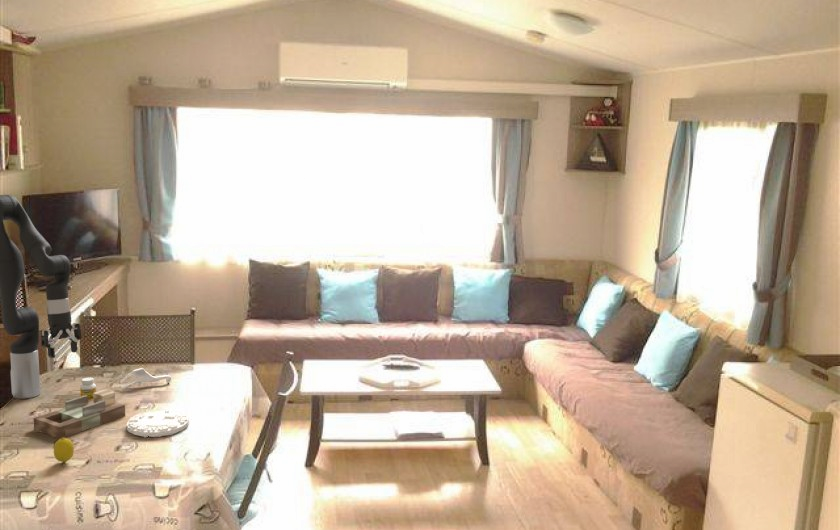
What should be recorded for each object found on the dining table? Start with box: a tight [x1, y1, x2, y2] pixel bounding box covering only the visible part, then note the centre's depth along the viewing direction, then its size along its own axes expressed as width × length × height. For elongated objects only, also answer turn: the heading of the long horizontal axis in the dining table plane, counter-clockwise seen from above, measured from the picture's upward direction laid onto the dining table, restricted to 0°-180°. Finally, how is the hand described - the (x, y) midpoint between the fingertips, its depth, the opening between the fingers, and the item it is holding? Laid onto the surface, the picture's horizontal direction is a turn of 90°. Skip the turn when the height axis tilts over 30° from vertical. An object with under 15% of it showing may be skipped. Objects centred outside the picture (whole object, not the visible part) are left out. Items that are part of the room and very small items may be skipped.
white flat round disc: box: [126, 409, 190, 439], centre depth 255 cm, size 20×20×3 cm
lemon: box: [53, 437, 75, 464], centre depth 225 cm, size 6×6×8 cm
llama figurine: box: [118, 367, 172, 390], centre depth 295 cm, size 2×11×18 cm
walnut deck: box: [33, 395, 126, 440], centre depth 256 cm, size 14×25×7 cm, turn 149°
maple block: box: [93, 388, 116, 406], centre depth 264 cm, size 5×5×4 cm
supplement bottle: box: [79, 377, 97, 400], centre depth 273 cm, size 5×5×10 cm
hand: (63, 354), depth 271 cm, fingers open, 8 cm apart
